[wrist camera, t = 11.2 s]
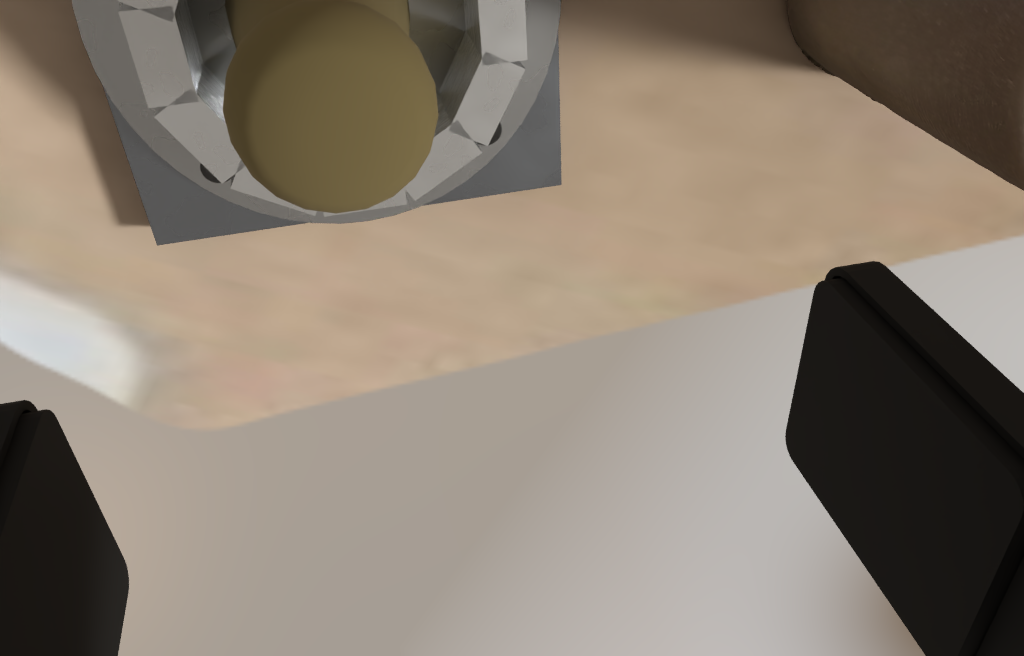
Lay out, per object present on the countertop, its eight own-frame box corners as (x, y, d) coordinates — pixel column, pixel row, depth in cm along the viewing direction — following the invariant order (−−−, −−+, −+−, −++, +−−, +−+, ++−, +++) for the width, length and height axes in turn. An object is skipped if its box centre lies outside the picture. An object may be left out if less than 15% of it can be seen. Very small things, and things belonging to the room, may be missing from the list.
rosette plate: (-2, -262, 25) (-57, -259, 21) (539, -297, 27) (585, -301, 23) (161, 227, 34) (145, 295, 30) (552, 169, 36) (586, 225, 32)
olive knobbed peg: (413, -82, 28) (474, 8, 19) (406, 100, 31) (456, 248, 22) (217, -96, 26) (184, -7, 18) (231, 96, 30) (211, 252, 21)
